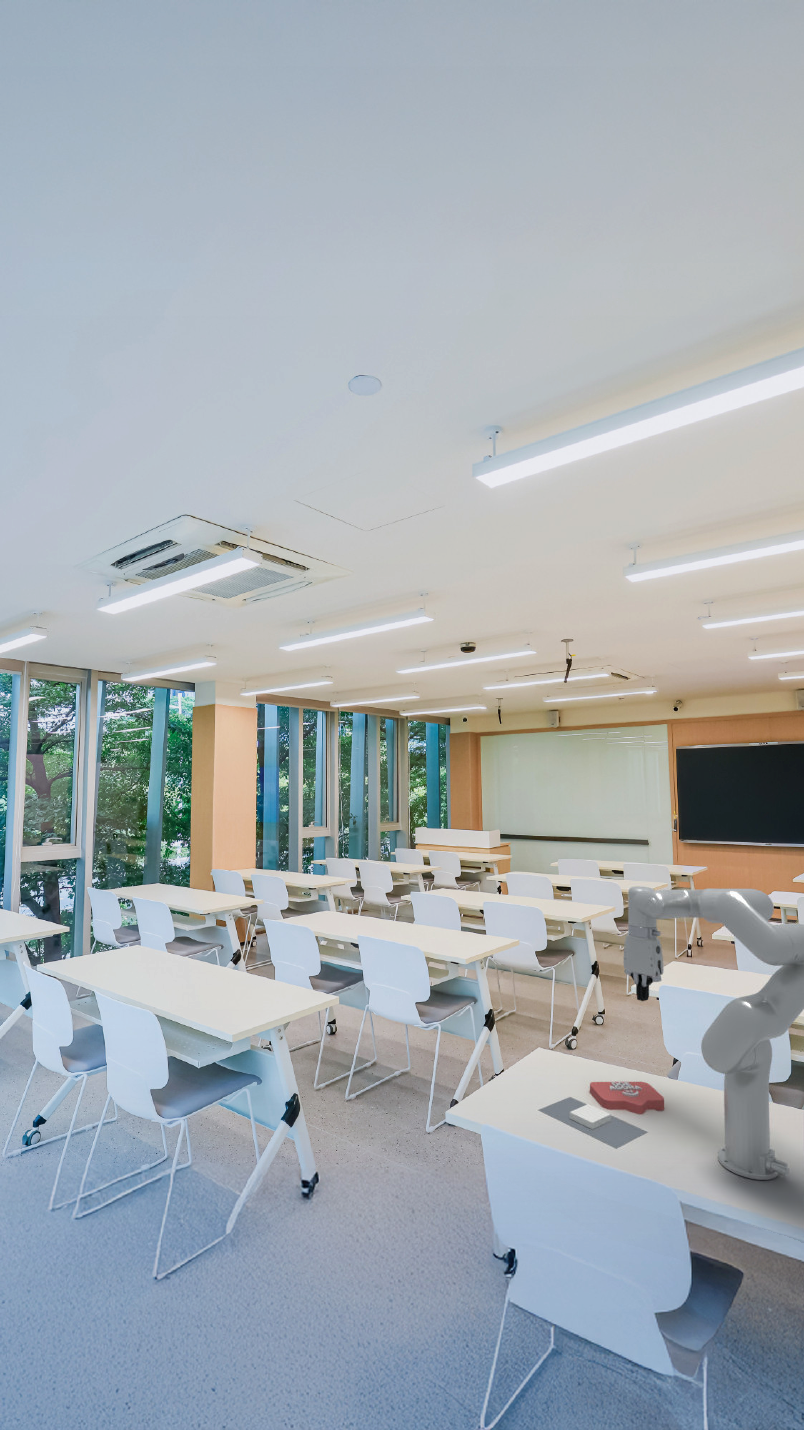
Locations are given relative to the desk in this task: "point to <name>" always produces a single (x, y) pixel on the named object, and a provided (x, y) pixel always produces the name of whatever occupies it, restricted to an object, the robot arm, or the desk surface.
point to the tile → (590, 1116)
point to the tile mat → (608, 1133)
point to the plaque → (627, 1096)
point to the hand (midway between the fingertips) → (642, 999)
